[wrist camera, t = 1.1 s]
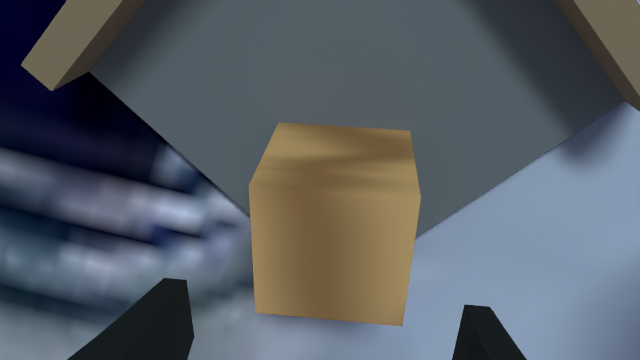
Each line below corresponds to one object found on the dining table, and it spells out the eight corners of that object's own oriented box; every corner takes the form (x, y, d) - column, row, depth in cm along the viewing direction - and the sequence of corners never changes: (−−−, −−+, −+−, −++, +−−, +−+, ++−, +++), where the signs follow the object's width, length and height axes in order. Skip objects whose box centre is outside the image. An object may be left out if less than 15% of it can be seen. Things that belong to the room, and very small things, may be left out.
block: (409, 130, 18) (420, 197, 14) (396, 239, 21) (402, 325, 16) (278, 122, 18) (248, 185, 14) (280, 230, 21) (255, 312, 17)
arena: (650, 73, 17) (701, 101, 14) (335, 282, 23) (330, 329, 20) (369, -349, 13) (367, -419, 10) (71, 43, 18) (20, 64, 16)
